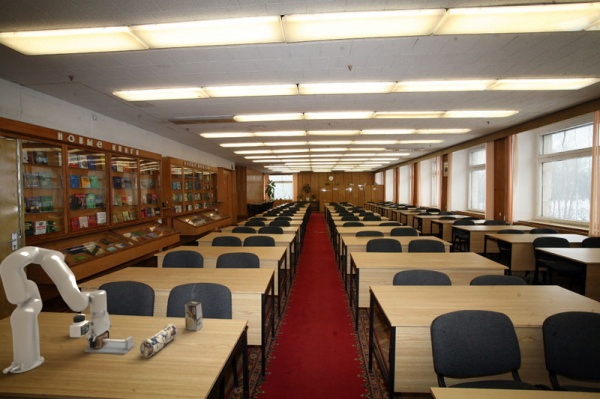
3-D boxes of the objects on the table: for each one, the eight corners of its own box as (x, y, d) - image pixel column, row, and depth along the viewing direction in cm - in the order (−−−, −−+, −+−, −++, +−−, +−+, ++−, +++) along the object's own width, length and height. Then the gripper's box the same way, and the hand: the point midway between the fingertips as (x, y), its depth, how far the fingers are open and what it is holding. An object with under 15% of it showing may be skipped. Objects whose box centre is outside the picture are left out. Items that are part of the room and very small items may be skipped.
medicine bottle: (81, 337, 172) (80, 318, 171) (69, 337, 172) (68, 318, 172) (90, 331, 179) (89, 313, 179) (78, 331, 179) (78, 312, 179)
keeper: (99, 348, 157) (99, 338, 157) (91, 348, 158) (91, 337, 157) (108, 342, 163) (107, 332, 163) (100, 342, 163) (99, 332, 163)
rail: (125, 354, 154) (124, 342, 154) (84, 352, 156) (83, 340, 156) (136, 345, 163) (135, 334, 163) (97, 343, 165) (97, 332, 165)
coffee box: (203, 326, 185) (202, 302, 184) (197, 331, 179) (196, 306, 178) (191, 324, 188) (190, 300, 187) (184, 329, 182) (184, 304, 181)
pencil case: (152, 359, 150) (151, 341, 149) (138, 357, 151) (138, 339, 151) (178, 338, 171) (178, 322, 170) (166, 336, 173) (166, 320, 172)
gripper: (92, 320, 151) (93, 351, 151) (116, 306, 168) (117, 335, 168) (79, 319, 151) (80, 351, 152) (104, 306, 169) (105, 334, 169)
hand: (99, 342), depth 160 cm, fingers open, 9 cm apart
